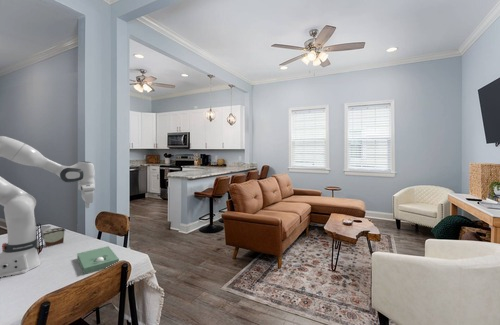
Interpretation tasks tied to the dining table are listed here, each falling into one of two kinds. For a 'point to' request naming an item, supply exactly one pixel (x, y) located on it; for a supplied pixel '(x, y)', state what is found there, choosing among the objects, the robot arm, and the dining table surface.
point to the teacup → (45, 229)
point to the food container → (53, 236)
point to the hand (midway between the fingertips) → (87, 207)
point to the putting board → (89, 258)
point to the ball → (99, 259)
